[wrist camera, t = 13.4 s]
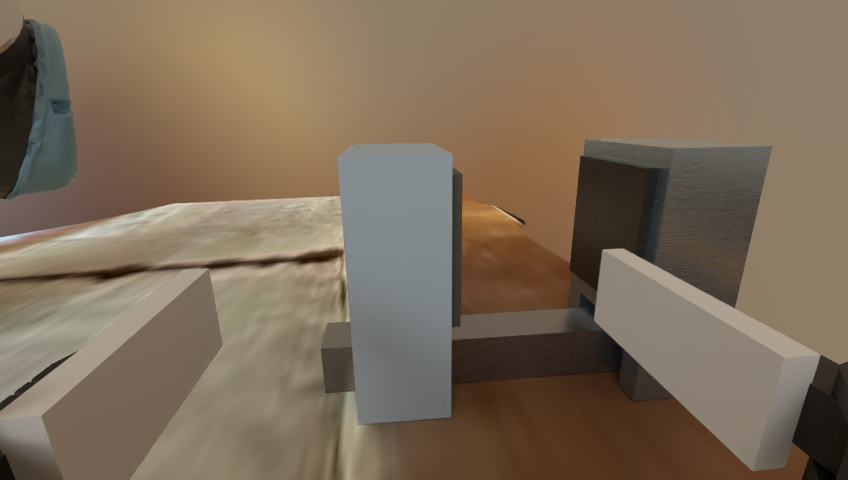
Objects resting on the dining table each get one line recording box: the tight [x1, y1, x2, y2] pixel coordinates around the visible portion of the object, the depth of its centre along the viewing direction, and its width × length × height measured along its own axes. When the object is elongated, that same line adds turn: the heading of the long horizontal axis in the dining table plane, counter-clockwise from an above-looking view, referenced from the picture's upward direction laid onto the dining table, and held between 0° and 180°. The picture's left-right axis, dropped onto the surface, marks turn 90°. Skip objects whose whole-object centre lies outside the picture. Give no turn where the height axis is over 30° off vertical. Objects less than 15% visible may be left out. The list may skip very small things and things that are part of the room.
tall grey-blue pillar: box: [338, 143, 462, 425], centre depth 24 cm, size 9×6×14 cm, turn 5°
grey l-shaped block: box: [321, 138, 772, 401], centre depth 24 cm, size 22×9×14 cm, turn 96°
